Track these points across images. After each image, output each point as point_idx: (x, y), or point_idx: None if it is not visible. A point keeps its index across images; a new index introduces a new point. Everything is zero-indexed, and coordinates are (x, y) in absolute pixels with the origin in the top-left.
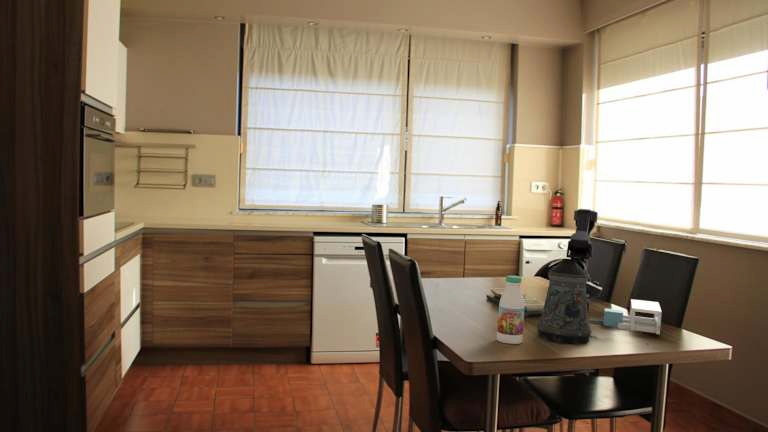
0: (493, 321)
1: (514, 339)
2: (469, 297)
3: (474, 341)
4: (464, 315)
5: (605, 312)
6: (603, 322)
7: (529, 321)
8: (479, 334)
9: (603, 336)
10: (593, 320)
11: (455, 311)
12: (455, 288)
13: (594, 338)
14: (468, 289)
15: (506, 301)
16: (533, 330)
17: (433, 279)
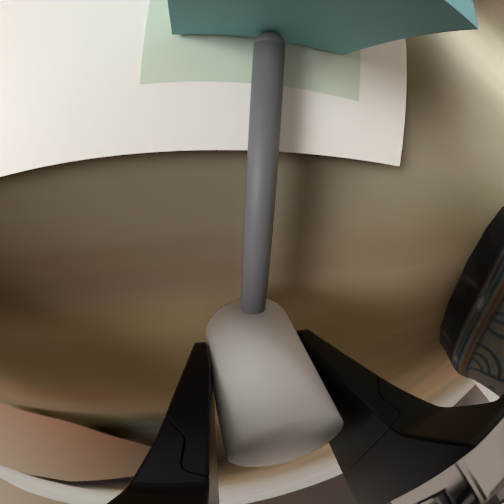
0: (333, 454)
1: None
2: (86, 495)
3: (470, 380)
4: (291, 483)
5: (458, 17)
6: (275, 35)
7: None
8: (441, 402)
9: (476, 120)
10: (277, 152)
11: (258, 494)
12: (41, 490)
13: (499, 174)
14: (24, 480)
15: None
16: (420, 375)
17: (24, 489)
